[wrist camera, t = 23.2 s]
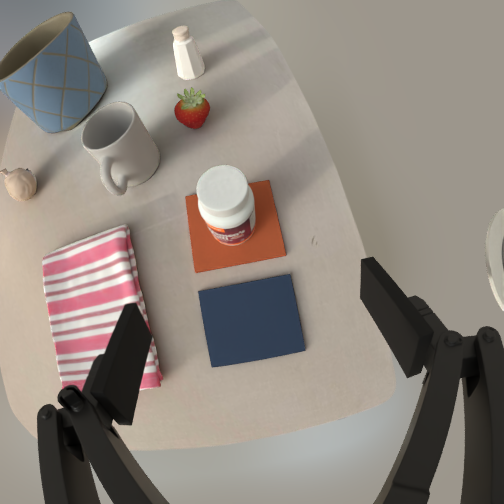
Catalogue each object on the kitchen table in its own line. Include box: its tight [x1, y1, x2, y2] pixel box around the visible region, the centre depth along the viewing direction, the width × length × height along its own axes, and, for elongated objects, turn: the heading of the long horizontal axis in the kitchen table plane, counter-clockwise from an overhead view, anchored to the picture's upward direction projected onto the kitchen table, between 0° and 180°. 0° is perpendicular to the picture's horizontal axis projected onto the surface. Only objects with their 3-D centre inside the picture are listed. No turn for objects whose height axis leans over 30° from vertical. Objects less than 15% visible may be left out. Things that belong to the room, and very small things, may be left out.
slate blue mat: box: [198, 274, 305, 367], centre depth 36 cm, size 12×10×1 cm
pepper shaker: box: [172, 26, 205, 80], centre depth 42 cm, size 5×5×11 cm
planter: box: [0, 12, 107, 133], centre depth 38 cm, size 19×19×20 cm
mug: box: [81, 102, 160, 196], centre depth 37 cm, size 12×8×11 cm
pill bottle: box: [197, 165, 256, 246], centre depth 33 cm, size 6×6×11 cm
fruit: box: [174, 87, 210, 129], centre depth 40 cm, size 5×5×8 cm
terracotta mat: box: [186, 180, 286, 273], centre depth 39 cm, size 12×11×1 cm
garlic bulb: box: [0, 168, 37, 201], centre depth 39 cm, size 7×6×8 cm
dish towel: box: [42, 225, 163, 391], centre depth 35 cm, size 17×23×4 cm
